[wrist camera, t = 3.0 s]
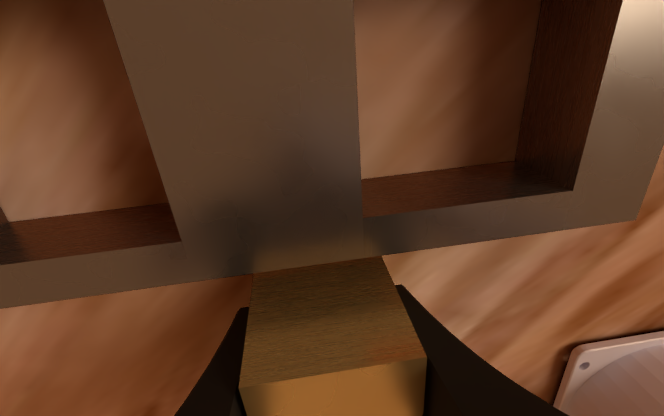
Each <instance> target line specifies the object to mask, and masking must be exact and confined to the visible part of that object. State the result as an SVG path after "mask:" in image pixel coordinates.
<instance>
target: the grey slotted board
mask: <svg viewBox="0 0 664 416" xmlns="http://www.w3.org/2000/svg"><path fill="white" fill-rule="evenodd" d="M103 2H104V5H105V8H106V11H107V14H108V17H109V20H110V23H111V26H112V29H113V32H114V35H115V38H116V42H117V45H118V48H119V51H120V54H121V57H122V60H123V63H124V66H125V69H126V72H127V75H128V78H129V81H130V84H131V87H132V91H133V94H134V97H135V100H136V103H137V106H138V109H139V112H140V115H141V118H142V121H143V124H144V127H145V130H146V133H147V136H148V139H149V143H150V146H151V149H152V152H153V155H154V158H155V161H156V164H157V167H158V170H159V173H160V176H161V179H162V182H163V185H164V188H165V191H166V195H167V198H168V201H169V203H165V204H156V205H148V206H140V207H132V208H123V209H115V210H107V211H99V212H91V213H82V214H74V215H66V216H58V217H49V218H41V219H33V220H25V221H16V222H9V221H8V220H7V218H6V216H5V214H4V213H3V211H2V209H1V208H0V309H2V308H9V307H16V306H23V305H31V304H38V303H45V302H52V301H59V300H66V299H74V298H81V297H88V296H95V295H102V294H109V293H117V292H124V291H131V290H138V289H145V288H152V287H160V286H167V285H174V284H181V283H188V282H195V281H203V280H210V279H217V278H224V277H231V276H238V275H246V274H253V273H260V272H267V271H274V270H281V269H289V268H296V267H303V266H310V265H317V264H324V263H332V262H339V261H346V260H353V259H360V258H367V257H375V256H382V255H389V254H396V253H403V252H410V251H418V250H425V249H432V248H439V247H446V246H453V245H461V244H468V243H475V242H482V241H489V240H496V239H504V238H511V237H518V236H525V235H532V234H539V233H547V232H554V231H561V230H568V229H575V228H582V227H590V226H597V225H604V224H611V223H618V222H625V221H633V220H636V218H637V215H638V213H639V210H640V207H641V204H642V202H643V199H644V196H645V194H646V191H647V188H648V185H649V183H650V180H651V177H652V174H653V172H654V169H655V166H656V164H657V161H658V158H659V155H660V153H661V150H662V147H663V145H664V0H542V6H541V12H540V18H539V23H538V29H537V35H536V41H535V47H534V53H533V59H532V65H531V70H530V76H529V82H528V88H527V94H526V100H525V106H524V111H523V117H522V123H521V129H520V135H519V141H518V147H517V153H516V158H515V161H510V162H502V163H494V164H486V165H478V166H469V167H461V168H453V169H445V170H436V171H428V172H420V173H412V174H403V175H395V176H387V177H379V178H371V179H362V180H361V166H360V143H359V120H358V97H357V75H356V52H355V29H354V6H353V0H103Z"/></svg>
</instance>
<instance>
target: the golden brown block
mask: <svg viewBox="0 0 664 416" xmlns="http://www.w3.org/2000/svg"><path fill="white" fill-rule="evenodd" d="M426 366H427V356H426V353H425V351H424V349H423V347H422V345H421V342H420V340H419V338H418V336H417V334H416V331H415V329H414V327H413V325H412V323H411V320H410V318H409V316H408V314H407V312H406V309H405V307H404V305H403V303H402V300H401V298H400V296H399V294H398V292H397V289H396V287H395V285H394V283H393V281H392V278H391V276H390V274H389V272H388V270H387V267H386V265H385V263H384V261H383V259H382V256H375V257H367V258H360V259H353V260H346V261H339V262H332V263H324V264H317V265H310V266H303V267H296V268H289V269H281V270H274V271H267V272H260V273H254V277H253V284H252V292H251V299H250V306H249V314H248V321H247V329H246V336H245V344H244V351H243V359H242V366H241V373H240V381H239V391H240V395H241V398H242V401H243V404H244V407H245V411H246V414H247V416H423V411H424V396H425V381H426Z"/></svg>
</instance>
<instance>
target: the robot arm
mask: <svg viewBox="0 0 664 416" xmlns="http://www.w3.org/2000/svg"><path fill="white" fill-rule="evenodd" d="M395 287H396V289H397V292H398V294H399V296H400V298H401V300H402V303H403V305H404V307H405V309H406V312H407V314H408V316H409V318H410V320H411V323H412V325H413V327H414V329H415V331H416V334H417V336H418V338H419V340H420V342H421V345H422V347H423V349H424V351H425V353H426V356H427V366H426V381H425V396H424V411H423V416H664V331H659V332H653V333H648V334H642V335H636V336H630V337H624V338H618V339H612V340H606V341H600V342H594V343H588V344H582V345H579V346H577V347H575V348H574V349H573V350H572V352H571V355H570V357H569V360H568V363H567V366H566V369H565V372H564V375H563V378H562V381H561V384H560V387H559V390H558V393H557V396H556V399H555V402H554V405H553V406H552V405H550V404H549V403H547V402H545V401H544V400H542V399H541V398H539V397H537V396H536V395H534V394H533V393H531V392H529V391H528V390H526V389H524V388H523V387H521V386H520V385H518V384H517V383H515V382H514V381H512V380H511V379H509V378H508V377H506V376H505V375H504V374H502V373H501V372H499V371H498V370H497V369H495V368H494V367H493V366H491V365H490V364H488V363H487V362H486V361H484V360H483V359H482V358H481V357H479V356H478V355H477V354H476V353H474V352H473V351H472V350H471V349H469V348H468V347H467V346H466V345H465V344H463V343H462V342H461V341H460V340H459V339H457V338H456V337H455V336H454V335H453V334H452V333H451V332H449V331H448V330H447V329H446V328H445V327H444V326H443V325H442V324H441V323H440V322H439V321H438V320H436V319H435V318H434V317H433V316H432V315H431V314H430V313H429V312H428V311H427V310H426V309H425V308H424V307H423V306H422V305H421V304H420V303H419V302H418V301H417V300H416V299H415V298H414V297H413V296H412V295H411V293H410V292H409V291H408V290H407V289H406V288H405V287H404V286H403V285H395ZM248 314H249V307H244V308H240V309H239V311H238V312H237V314H236V316H235V318H234V320H233V322H232V324H231V326H230V328H229V330H228V332H227V334H226V335H225V337H224V339H223V341H222V343H221V345H220V346H219V348H218V350H217V351H216V353H215V355H214V356H213V358H212V360H211V362H210V363H209V365H208V367H207V368H206V370H205V371H204V373H203V374H202V376H201V377H200V379H199V380H198V382H197V384H196V385H195V387H194V388H193V390H192V391H191V393H190V394H189V396H188V397H187V399H186V400H185V401H184V403H183V404H182V406H181V407H180V408H179V410H178V411H177V412H176V414H175V415H174V416H247V414H246V411H245V407H244V404H243V401H242V398H241V395H240V391H239V381H240V373H241V366H242V359H243V351H244V344H245V336H246V329H247V321H248Z"/></svg>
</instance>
